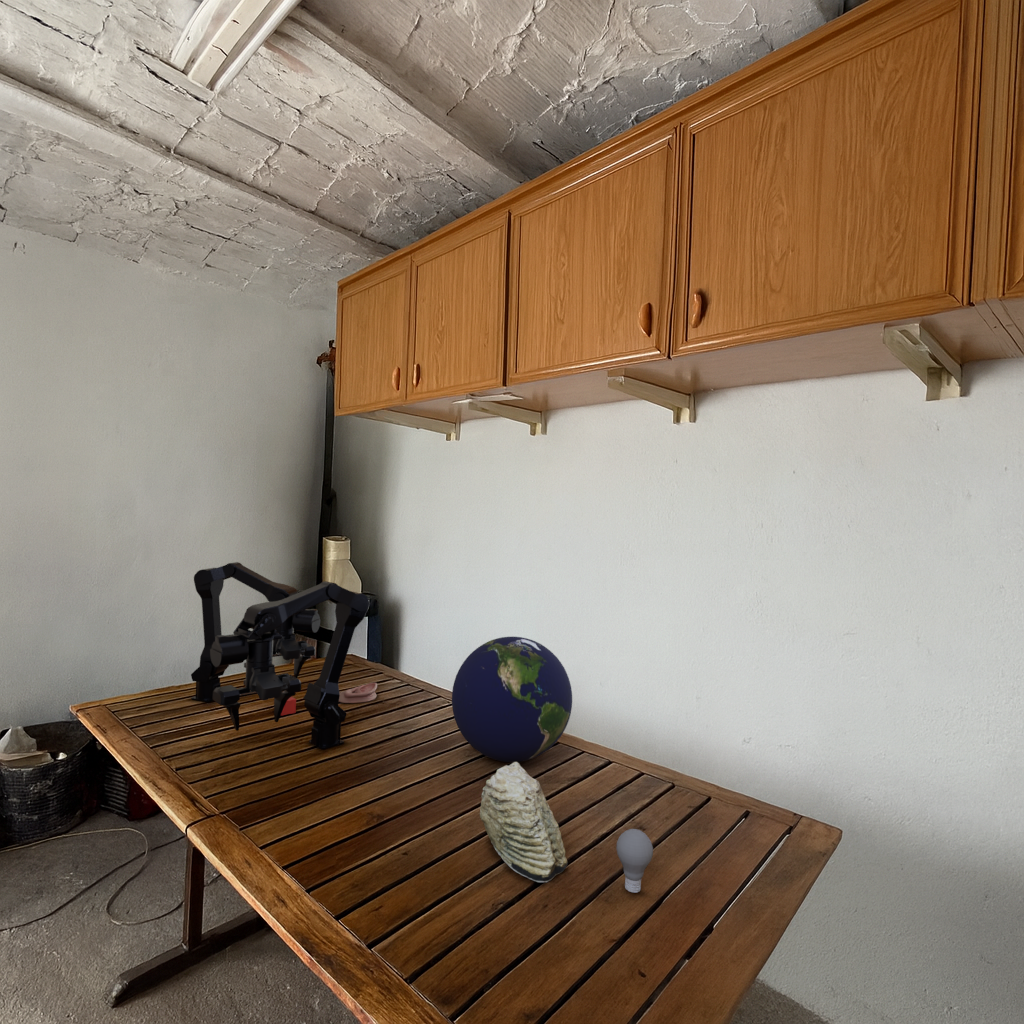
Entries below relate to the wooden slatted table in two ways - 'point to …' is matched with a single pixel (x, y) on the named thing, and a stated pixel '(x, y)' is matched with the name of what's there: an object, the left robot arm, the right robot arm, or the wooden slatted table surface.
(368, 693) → the anatomical model
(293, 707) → the block
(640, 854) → the light bulb
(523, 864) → the fossil
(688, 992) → the wooden slatted table surface
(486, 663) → the globe
